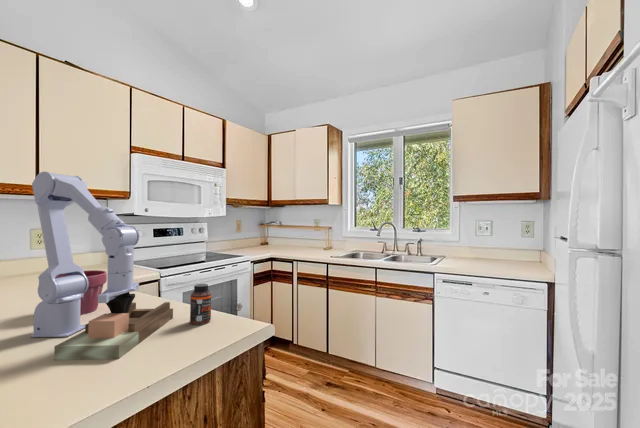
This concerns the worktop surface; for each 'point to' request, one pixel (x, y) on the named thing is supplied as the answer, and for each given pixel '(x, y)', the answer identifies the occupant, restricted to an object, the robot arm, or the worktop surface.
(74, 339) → the chute
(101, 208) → the robot arm
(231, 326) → the worktop surface
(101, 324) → the block
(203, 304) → the supplement bottle
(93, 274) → the plant pot
